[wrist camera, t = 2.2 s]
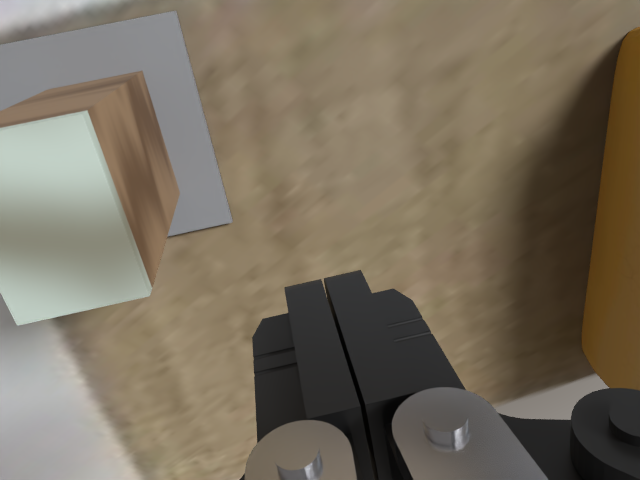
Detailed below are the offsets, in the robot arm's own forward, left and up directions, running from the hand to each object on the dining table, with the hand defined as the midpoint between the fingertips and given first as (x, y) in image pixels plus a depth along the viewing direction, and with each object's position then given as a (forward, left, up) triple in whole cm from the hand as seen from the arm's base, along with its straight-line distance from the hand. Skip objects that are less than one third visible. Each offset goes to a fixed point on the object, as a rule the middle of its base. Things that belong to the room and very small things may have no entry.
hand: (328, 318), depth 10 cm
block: (0, -8, -21) cm, 23 cm away
